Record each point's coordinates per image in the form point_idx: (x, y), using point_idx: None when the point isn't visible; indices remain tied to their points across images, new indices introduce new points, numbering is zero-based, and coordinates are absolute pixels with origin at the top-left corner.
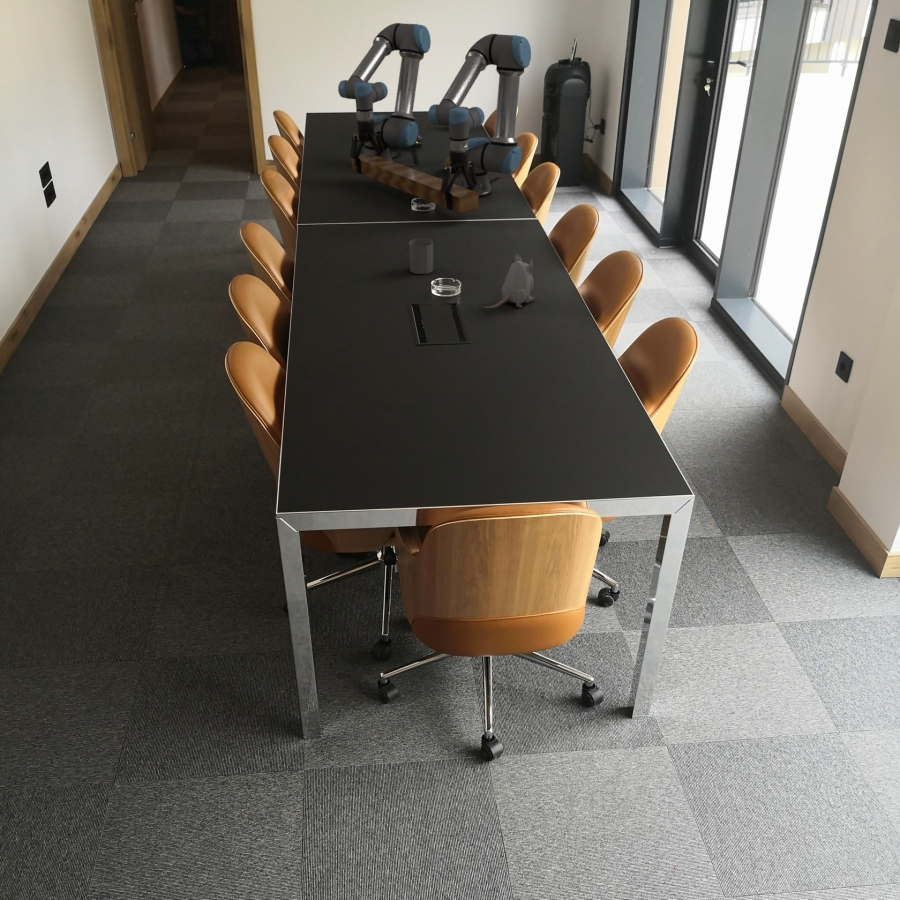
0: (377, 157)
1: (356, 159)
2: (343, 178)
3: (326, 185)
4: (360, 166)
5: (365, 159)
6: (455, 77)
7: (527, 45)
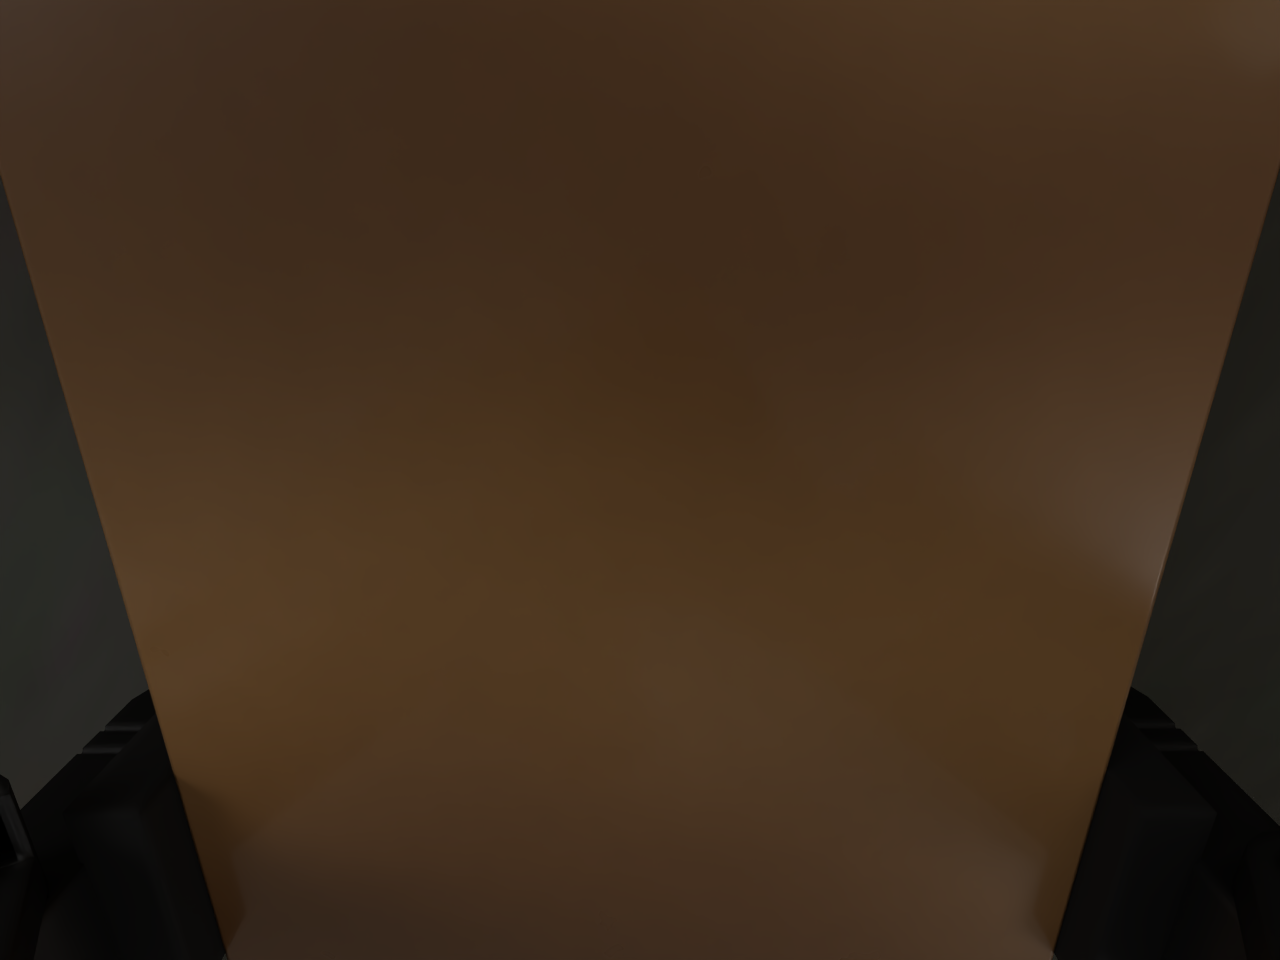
0: (292, 637)
1: (1274, 851)
2: None
3: (1228, 773)
4: None
5: (901, 710)
6: None
7: None
